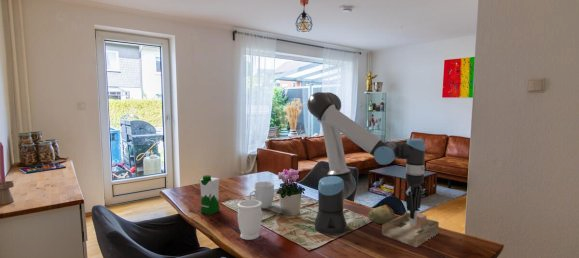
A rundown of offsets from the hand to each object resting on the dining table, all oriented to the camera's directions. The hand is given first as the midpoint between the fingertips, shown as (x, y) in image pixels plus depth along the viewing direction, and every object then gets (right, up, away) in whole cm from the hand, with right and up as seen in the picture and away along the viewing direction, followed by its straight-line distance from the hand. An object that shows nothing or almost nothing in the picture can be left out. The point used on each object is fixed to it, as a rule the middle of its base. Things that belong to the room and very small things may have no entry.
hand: (413, 224), depth 138 cm
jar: (-73, -4, -2) cm, 74 cm away
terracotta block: (+3, -1, +3) cm, 4 cm away
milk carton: (-99, -2, +27) cm, 102 cm away
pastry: (-9, -3, +15) cm, 18 cm away
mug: (-71, -1, +35) cm, 79 cm away
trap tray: (-2, -4, 0) cm, 4 cm away
